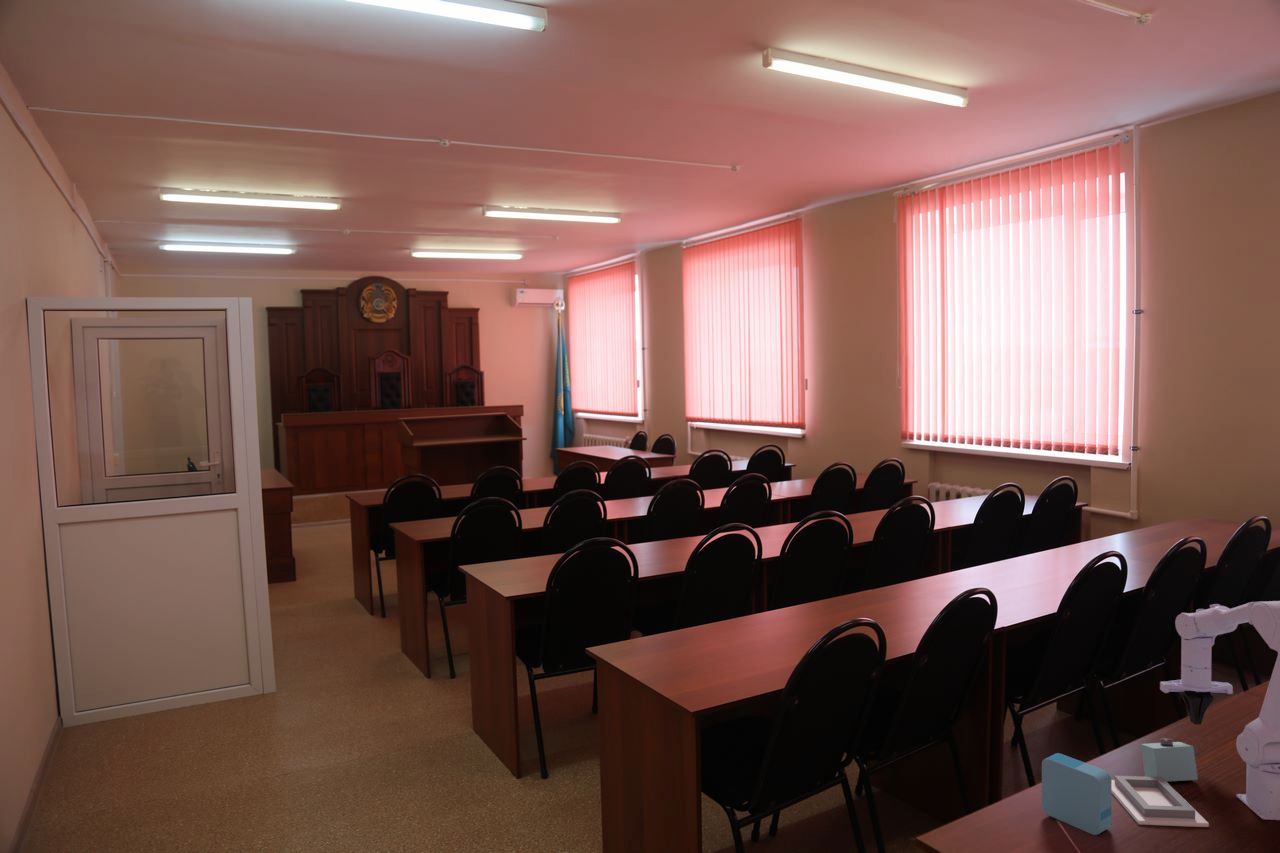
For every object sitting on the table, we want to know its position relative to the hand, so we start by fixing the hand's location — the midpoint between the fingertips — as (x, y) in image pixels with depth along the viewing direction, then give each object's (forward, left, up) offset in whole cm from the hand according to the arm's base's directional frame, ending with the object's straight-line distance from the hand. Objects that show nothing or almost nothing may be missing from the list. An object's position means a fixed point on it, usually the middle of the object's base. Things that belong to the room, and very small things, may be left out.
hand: (1195, 722), depth 191 cm
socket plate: (-20, +18, -9) cm, 29 cm away
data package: (-28, +36, -10) cm, 47 cm away
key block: (-9, +9, -9) cm, 16 cm away
